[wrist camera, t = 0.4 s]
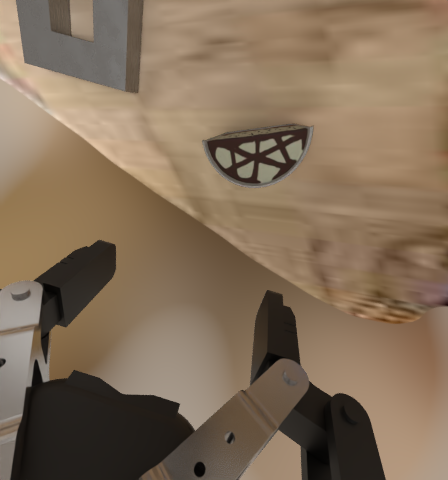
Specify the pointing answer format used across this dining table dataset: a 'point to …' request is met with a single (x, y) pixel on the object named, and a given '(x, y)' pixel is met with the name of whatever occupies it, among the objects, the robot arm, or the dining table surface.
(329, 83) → the dining table surface
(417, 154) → the dining table surface
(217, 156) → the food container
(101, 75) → the plate
